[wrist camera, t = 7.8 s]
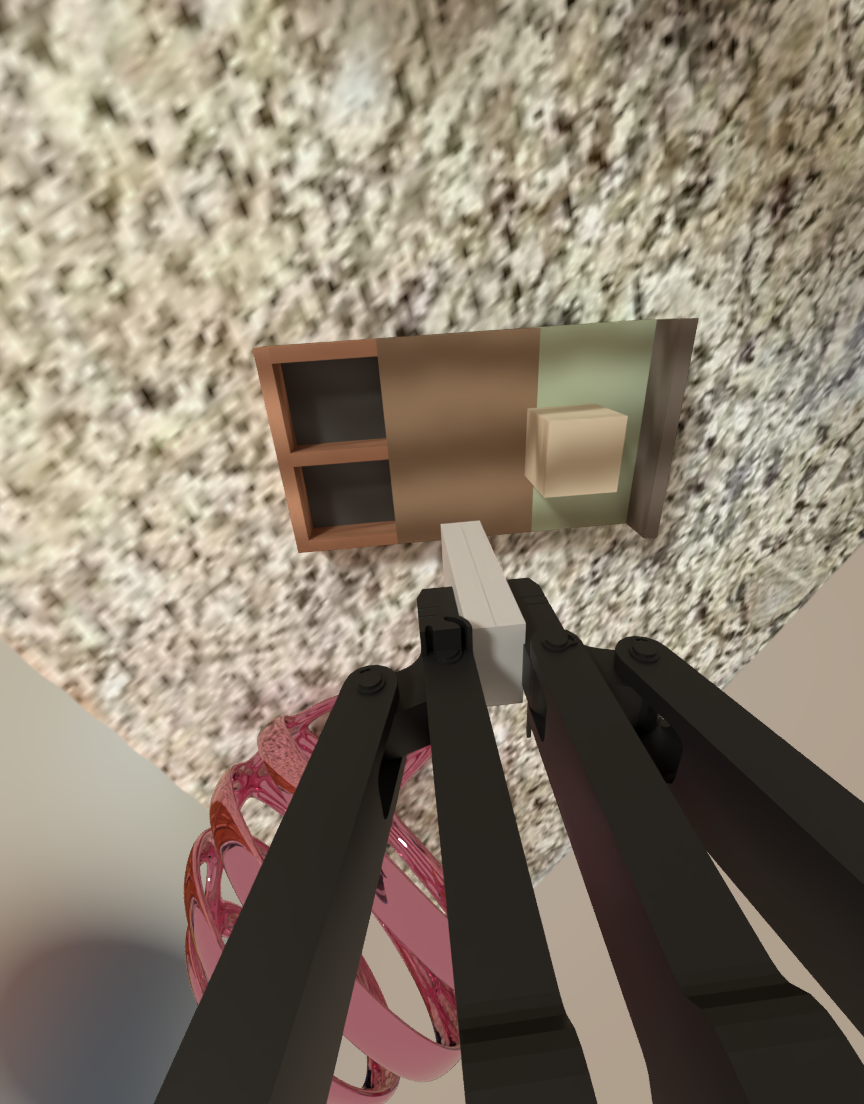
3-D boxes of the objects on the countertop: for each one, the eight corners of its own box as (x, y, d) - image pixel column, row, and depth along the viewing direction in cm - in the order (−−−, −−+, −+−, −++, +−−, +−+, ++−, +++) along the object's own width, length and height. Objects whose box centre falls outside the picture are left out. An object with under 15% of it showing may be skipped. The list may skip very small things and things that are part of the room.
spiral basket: (583, 764, 25) (145, 1424, 15) (612, 872, 43) (422, 1203, 33) (327, 581, 44) (57, 823, 34) (422, 710, 62) (265, 892, 52)
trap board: (264, 346, 31) (238, 350, 26) (648, 319, 33) (698, 318, 27) (304, 537, 38) (291, 571, 33) (621, 508, 40) (656, 537, 34)
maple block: (527, 408, 32) (549, 421, 28) (595, 403, 32) (627, 416, 28) (524, 475, 34) (544, 497, 30) (587, 470, 35) (616, 491, 30)
